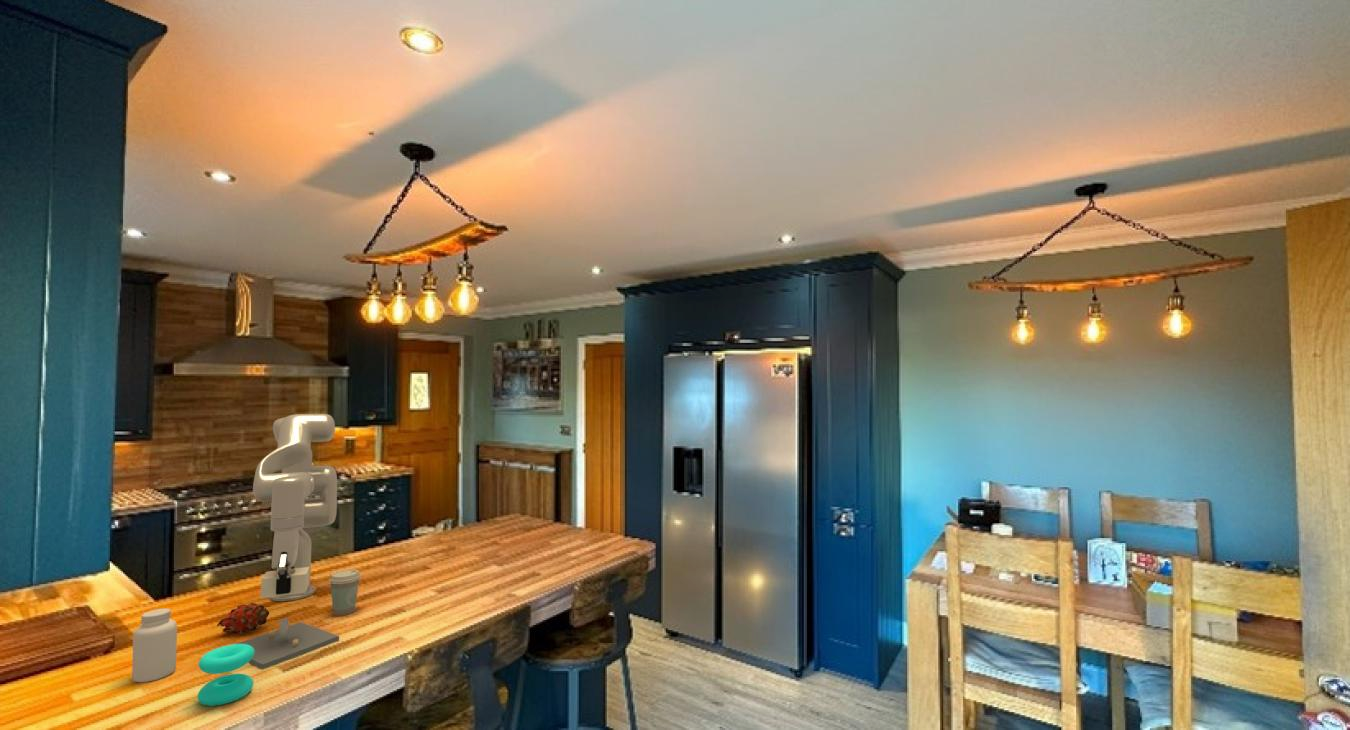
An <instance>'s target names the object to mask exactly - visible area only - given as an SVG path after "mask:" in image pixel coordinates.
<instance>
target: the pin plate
mask: <svg viewBox="0 0 1350 730" xmlns="http://www.w3.org/2000/svg"><path fill="white" fill-rule="evenodd" d="M289 621H290V620H289V618H288V617H284V618H281V619H279V629H272V630H269V632H267V633H263V634H260V635H257V636H254V637H252V638H248V639H245V640H243V641H240V642H236V643H235V644H247V645H250V646H252V647H253V649H254V656H253V658H252V659H251V660H250V661H249V662H248V663H247V664H250V665H252V666H255V667H256V668H259V669H261V670H265V669H267V668H270V667H273V666H275V665H278V664H280V663H283V662H286V661H288V660H291V659H293V658H296V657H298V656H302V655H304V654H307V653H309V652H312V651H315V650H317V649H320V648H322V647H325V646H328V645H331V644H333V643H335V642H338V641H340V635H338V634H335V633H332V632H330V631H327V630H323V629H322V628H319V627H316V626H313V625H311V624H307V623H305V622H302V621H300V622H296V623H294V624H291V625H289V623H290V622H289Z"/></svg>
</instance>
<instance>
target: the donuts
mask: <svg viewBox="0 0 1350 730" xmlns="http://www.w3.org/2000/svg"><path fill="white" fill-rule="evenodd" d="M253 656H254V649H253V647H252V646H250V645H247V644H236V643H233V644H229V645H223V646H221V647H217V648H215V649H212V650H209V651H208V652H206V653H205V654H204V655H203V656H201V657H200V659H199V660H198V668H199V670H200V671H202V672H203V673H205V674H207V675H208V674H209V675H220V674H225V673H230V672H234V671H236V670H238V669H241V668H243V667H244V666H246V665H247V664H249V663H248V662H249V661H250V660H251V659H252V658H253ZM253 687H254V679H253V678H252V677H251V676H250V675H248V674H245V673H230V674H226V675H222V676H218V677H216V678H213V679H212V680H211V681H208V682H207V683H206V684H204V685H203V686H202V687H201V688H200V690H199V691H198V693H197V701H198V702H199V704H201V705H204V706H208V707H210V706H211V707H212V706H213V707H215V706H220V705H226V704H229V703H233V702H235V701H237V700H240V699H242V698H243V697H245V696H246V695H247V694H248V693H250V692H251V691H252V689H253Z"/></svg>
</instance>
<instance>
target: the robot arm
mask: <svg viewBox="0 0 1350 730" xmlns="http://www.w3.org/2000/svg"><path fill="white" fill-rule="evenodd" d="M272 425H273V426H272V431H273V436H274V438H275V441H276V443H277V448H276V449H274V450H272V451H271V452H270V453H268V454H267V455H266V456H264V457H263V458H262V459H261V460H260V462H259V463H258V464H257V467H256V469H255V472H254V473H255V474H254V479H253V485H252V494H253V497H254V498H255V499H256V500H257V501H259V502H271V505H270V506H271V507H270V509H271V510H270V511H271V512H270V513H271V514H270V531H271V532H273V533H274V536H273V542H272V543H273V544H272V553H271V554H272V556H271V566H270V567H271V568H272V569H273V570H275V569H276V570H278V572H277V579H276V594H277V595H278V594H286V593H290V591H291V577H290V569H294V568H303V567H309V586H308V588H307V591H306V593H300V594H292V595H285V596H277V597H269V598H270V600H271V601H273V602H291V601H296V600H301V599H305V598H307V597H310V596H312V595H314V594H315V593H316V587H315V586H314V585H311V568H312V566H311V565H312V538H311V537H310V535H309V533H307V532H306V531H305V530H304V529H307V528H315V527H316V528H317V527H325V526H330V525H332V524H333V523H334V522H335V520H336V518H337V510H338V508H337V507H338V506H337V505H338V504H337V503H338V499H337V498H338V476H337V472H336V468H334V467H333V466H330V465H315V466H313V451H312V449H311V446H312V445H311V444H312V443H316V442H317V443H319V442H321V443H322V442H330V441H331V440H332V439H333V438H334V436H335V432H336V431H335V430H336V426H335V425H336V424H335V419H334V418H333V416H332V415H330V414H328V413H327V414H326V413H296V414H290V415H288V416H286V417H282V418H278V419H276V420H274V422H273V424H272ZM278 471H281V472H278ZM276 472H278V473H276ZM311 495H319V496H321V497H316V498H308V497H309V496H311ZM285 569H288V570H285Z"/></svg>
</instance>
